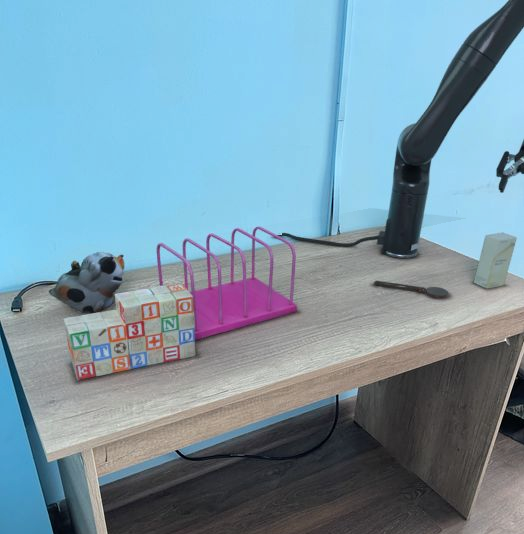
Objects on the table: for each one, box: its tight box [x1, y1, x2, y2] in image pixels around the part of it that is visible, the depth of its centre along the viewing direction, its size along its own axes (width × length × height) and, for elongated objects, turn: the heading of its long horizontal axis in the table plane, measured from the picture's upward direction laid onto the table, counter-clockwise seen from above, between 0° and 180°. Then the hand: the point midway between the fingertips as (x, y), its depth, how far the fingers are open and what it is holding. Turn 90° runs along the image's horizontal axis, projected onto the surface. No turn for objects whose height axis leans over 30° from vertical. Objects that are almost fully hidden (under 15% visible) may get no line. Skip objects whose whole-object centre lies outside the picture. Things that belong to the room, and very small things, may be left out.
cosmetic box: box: [473, 232, 518, 290], centre depth 127 cm, size 6×4×12 cm
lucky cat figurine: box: [48, 251, 125, 314], centre depth 113 cm, size 15×12×14 cm
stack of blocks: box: [63, 283, 197, 381], centre depth 93 cm, size 21×6×12 cm, turn 115°
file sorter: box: [156, 226, 298, 341], centre depth 111 cm, size 17×25×16 cm
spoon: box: [373, 280, 449, 300], centre depth 125 cm, size 17×5×1 cm, turn 72°
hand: (519, 193), depth 128 cm, fingers open, 8 cm apart
